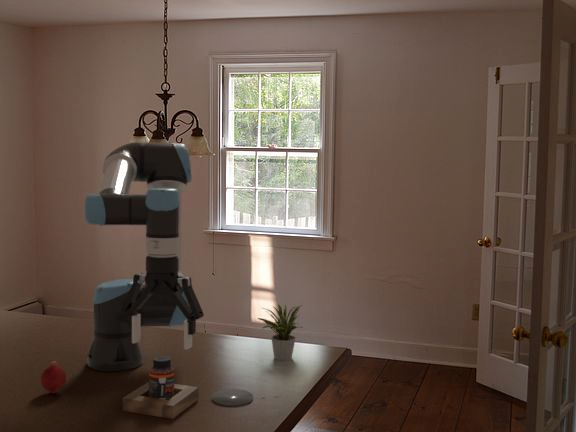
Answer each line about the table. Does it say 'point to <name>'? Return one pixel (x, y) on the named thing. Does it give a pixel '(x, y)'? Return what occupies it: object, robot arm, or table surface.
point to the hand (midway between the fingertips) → (161, 345)
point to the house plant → (282, 333)
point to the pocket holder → (160, 401)
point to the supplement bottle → (161, 378)
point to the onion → (53, 378)
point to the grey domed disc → (232, 397)
